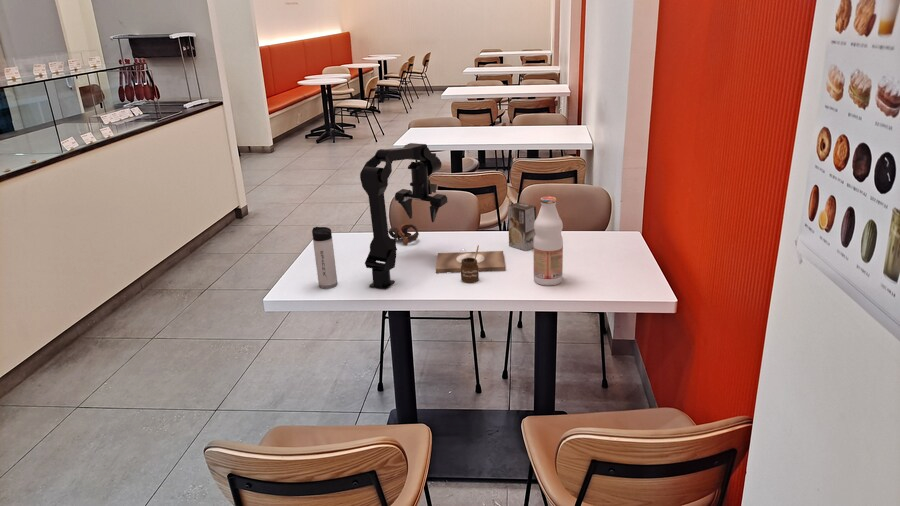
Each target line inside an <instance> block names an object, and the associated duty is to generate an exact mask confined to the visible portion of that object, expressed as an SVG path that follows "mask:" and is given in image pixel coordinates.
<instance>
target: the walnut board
mask: <svg viewBox="0 0 900 506" xmlns="http://www.w3.org/2000/svg"><path fill="white" fill-rule="evenodd" d="M463 253H464V254H463ZM461 255H462V256H461ZM466 255H468V258H475V255H476V251H467V252H465V251H461V252H460V251H459V252H457V251H455V252H438V253H437V259H436V263H435V264H436V266H435V273H436V274H447V272H451V273H454V274H455V273H461V265H462V264H461V262H462V260H463V259H465V258H466V257H467V256H466ZM464 257H465V258H464ZM461 258H462V259H461ZM476 260H477V265H478V271H479V272H481V273H483V272H484V273H485V272H505V271H506V262H505V255H504V250H493V251H492V250H491V251H490V250H489V251H488V250H487V251H478V253H477V256H476ZM451 273H450V274H451Z"/></svg>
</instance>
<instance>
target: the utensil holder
mask: <svg viewBox="0 0 900 506" xmlns="http://www.w3.org/2000/svg"><path fill="white" fill-rule="evenodd" d="M479 245H480V244H477V246H476V250H475V252H476V255H475V258H468V255H466V256H467V257H466V258H465V257H464V258H465V259H463V260H462V262H461V264H462V265H461V272H460V279H461V281H462V282H463V283H466V284H467V283H475V282H477V281H478V280H479V277H480V276H479V271H478V265H477V260H476V256H477V253H478V252H479V247H480V246H479ZM462 251H463V252H468V251H467V250H466V249H465V248H462V249H460V250H459V252H462ZM463 254H464V253H463ZM461 256H462V255H461ZM461 259H462V258H461Z"/></svg>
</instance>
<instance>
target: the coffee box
mask: <svg viewBox="0 0 900 506" xmlns="http://www.w3.org/2000/svg"><path fill="white" fill-rule="evenodd" d="M507 216H508V221H507V222H508V223H507V226H508V247H511V248H515V249H519V250H522V251H525V252H526V251H530V250H532V249H534V246H533V244H534V237H535V230H534V222H535V220H536V218H537V206H536V205H532V204H527V203H524V202H523V203H522V202H519V201H518V202H515V203H512V204H510V205H507Z"/></svg>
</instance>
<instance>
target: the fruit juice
mask: <svg viewBox="0 0 900 506" xmlns="http://www.w3.org/2000/svg"><path fill="white" fill-rule="evenodd" d="M540 205H541V206H540V209H539V211H538V214H537V215H536V220H535V222H534V230H535V237H534V244H533V246H534V248H533V281H534V283H536V284H538V285H540V286H555V285H556V286H557V285H559V284H560V283H562V281H563V269H564V268H563V267H564V266H563V264H564V263H563V262H564V261H563V260H564V254H563V253H564V241H563V236H562V231H563V227H564V224H563V221H562V219H561V217H560V215H559V212H558V209H557V206H556V205H557V198H556V197H555V196H542V197H540Z"/></svg>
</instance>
